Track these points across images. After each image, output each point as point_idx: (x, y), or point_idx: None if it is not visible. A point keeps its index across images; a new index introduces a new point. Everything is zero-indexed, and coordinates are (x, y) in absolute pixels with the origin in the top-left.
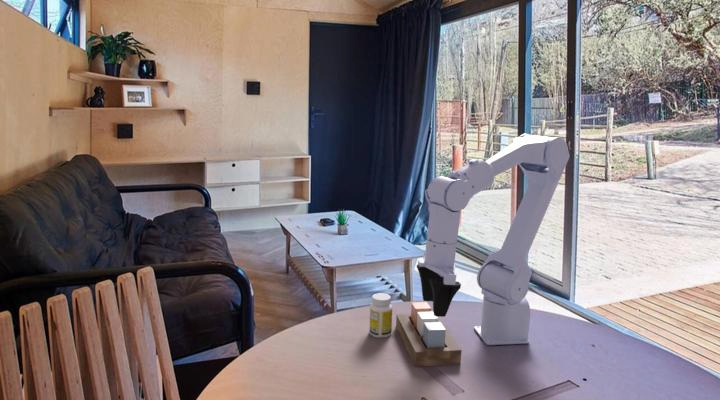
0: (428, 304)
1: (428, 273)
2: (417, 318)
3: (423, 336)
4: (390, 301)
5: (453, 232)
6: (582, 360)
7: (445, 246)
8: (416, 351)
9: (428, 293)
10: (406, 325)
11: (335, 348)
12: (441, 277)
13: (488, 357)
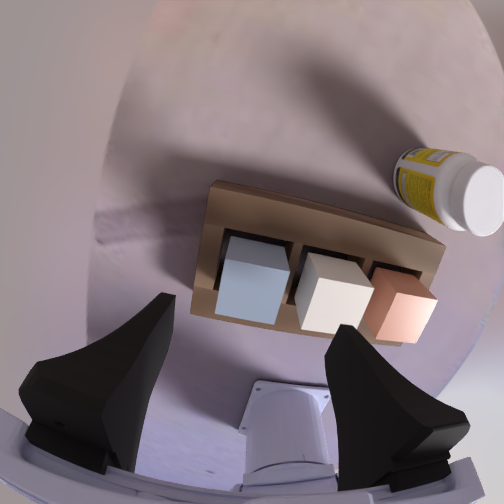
0: (400, 341)
1: (378, 440)
2: (363, 277)
3: (281, 250)
4: (460, 224)
5: None
6: (172, 447)
7: None
8: (214, 190)
9: (343, 362)
10: (381, 241)
11: (376, 29)
12: (85, 464)
13: (211, 358)
